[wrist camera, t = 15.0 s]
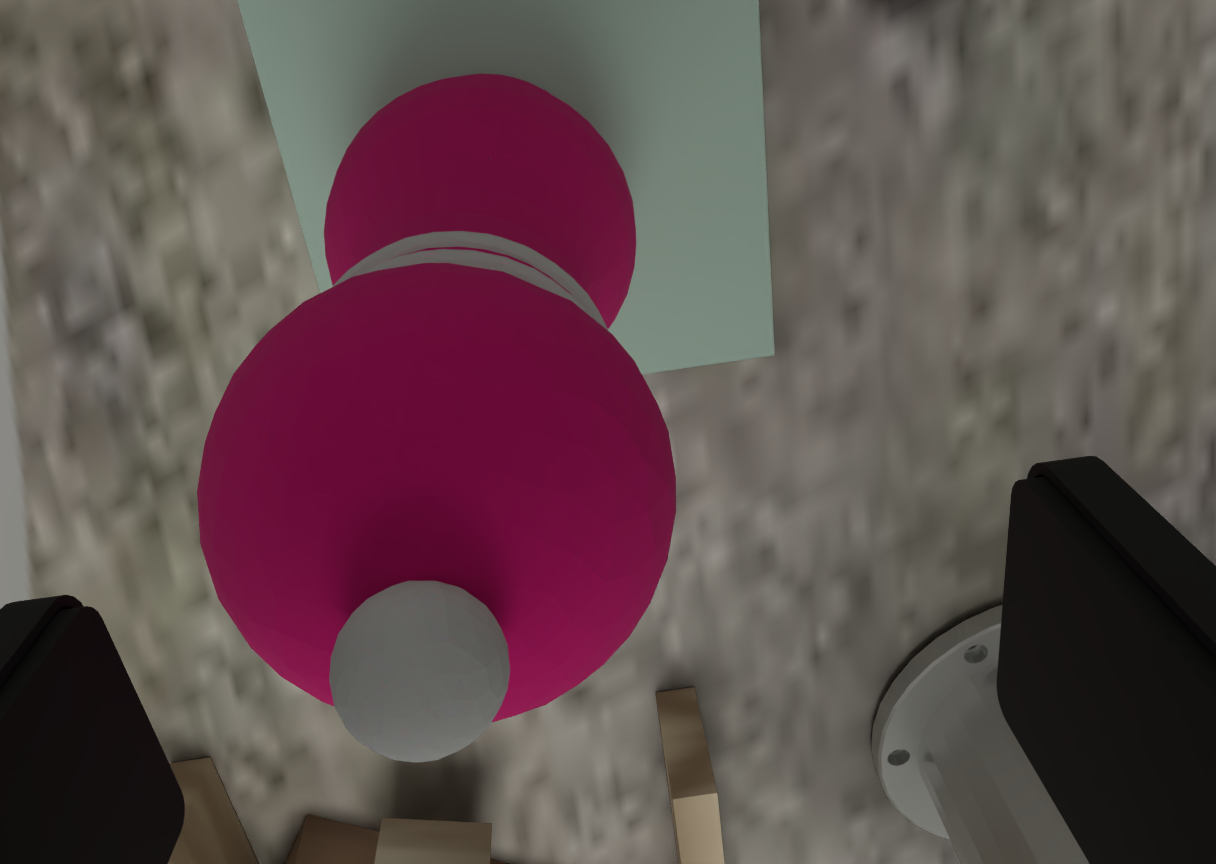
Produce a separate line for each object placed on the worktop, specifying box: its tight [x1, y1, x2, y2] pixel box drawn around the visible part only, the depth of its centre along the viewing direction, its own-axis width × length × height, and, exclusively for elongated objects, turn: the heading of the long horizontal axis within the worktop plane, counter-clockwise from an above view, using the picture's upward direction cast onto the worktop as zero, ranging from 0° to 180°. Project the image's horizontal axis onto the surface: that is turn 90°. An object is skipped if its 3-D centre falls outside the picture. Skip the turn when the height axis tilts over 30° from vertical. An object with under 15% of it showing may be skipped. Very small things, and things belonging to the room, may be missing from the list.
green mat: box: [237, 0, 774, 374], centre depth 26 cm, size 13×13×1 cm
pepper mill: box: [197, 74, 676, 763], centre depth 18 cm, size 7×7×20 cm
